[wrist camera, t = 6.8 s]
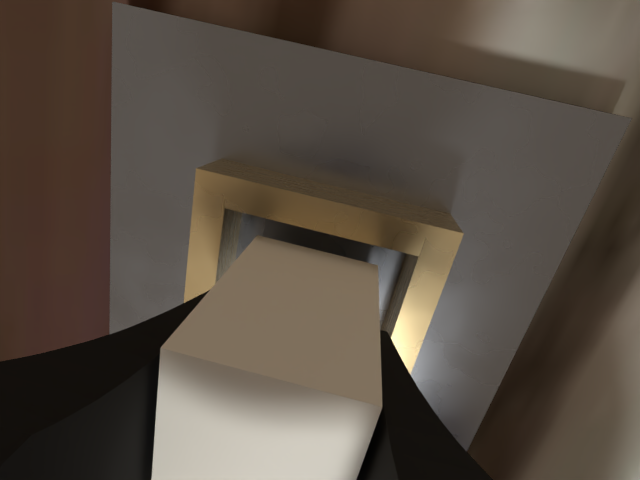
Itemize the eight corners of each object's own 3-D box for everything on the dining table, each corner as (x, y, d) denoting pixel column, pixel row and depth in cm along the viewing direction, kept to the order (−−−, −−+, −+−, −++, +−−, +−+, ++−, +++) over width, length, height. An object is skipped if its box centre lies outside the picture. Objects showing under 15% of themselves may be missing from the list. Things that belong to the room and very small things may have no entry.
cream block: (378, 265, 12) (382, 407, 6) (348, 364, 14) (331, 550, 8) (257, 235, 12) (160, 347, 7) (240, 336, 14) (150, 497, 8)
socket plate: (611, 117, 12) (685, 122, 9) (445, 467, 18) (458, 535, 15) (131, 8, 13) (63, -18, 10) (122, 379, 19) (78, 428, 16)
